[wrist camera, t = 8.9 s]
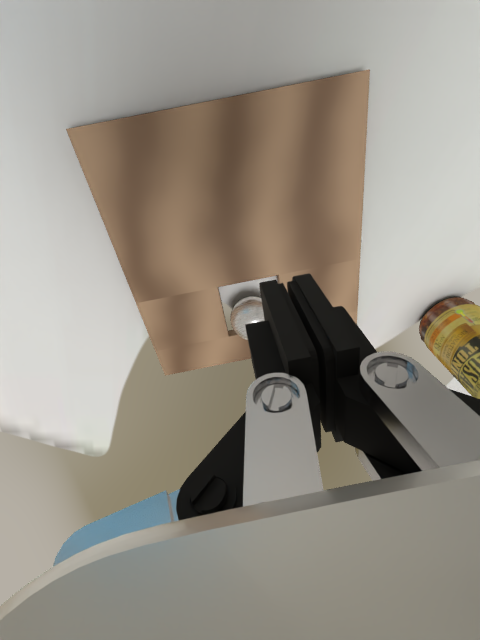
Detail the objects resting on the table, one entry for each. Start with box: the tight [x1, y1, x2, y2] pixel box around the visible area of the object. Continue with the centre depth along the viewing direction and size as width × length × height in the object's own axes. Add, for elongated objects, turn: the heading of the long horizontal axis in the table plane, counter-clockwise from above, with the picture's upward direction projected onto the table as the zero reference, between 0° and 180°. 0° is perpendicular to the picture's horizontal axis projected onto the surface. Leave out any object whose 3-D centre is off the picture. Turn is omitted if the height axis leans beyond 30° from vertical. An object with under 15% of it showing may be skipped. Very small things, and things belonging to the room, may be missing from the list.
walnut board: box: [66, 70, 370, 375], centre depth 27 cm, size 20×22×1 cm
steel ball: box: [231, 296, 265, 340], centre depth 29 cm, size 4×4×4 cm
